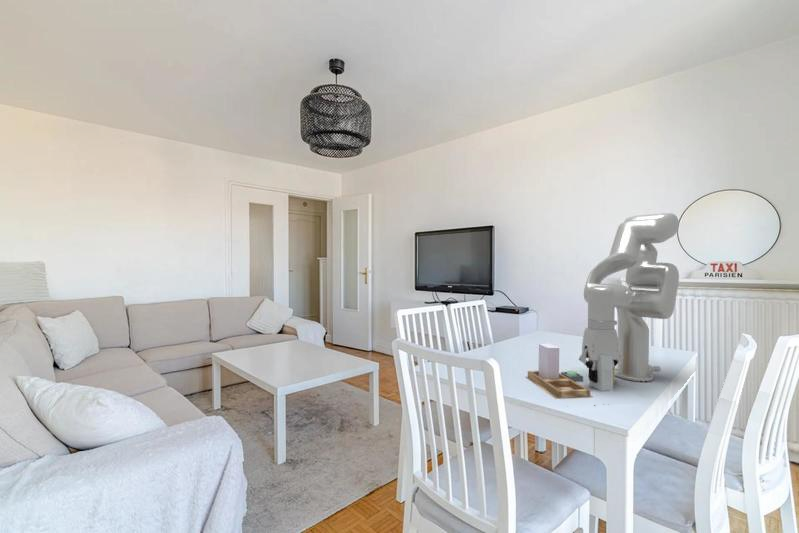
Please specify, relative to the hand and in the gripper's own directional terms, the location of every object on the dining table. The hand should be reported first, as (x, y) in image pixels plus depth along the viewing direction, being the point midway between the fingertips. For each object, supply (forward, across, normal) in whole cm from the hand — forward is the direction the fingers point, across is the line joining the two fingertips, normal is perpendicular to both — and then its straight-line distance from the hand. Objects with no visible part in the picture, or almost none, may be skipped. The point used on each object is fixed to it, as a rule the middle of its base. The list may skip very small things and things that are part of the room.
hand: (600, 380), depth 118 cm
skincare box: (+3, 0, 0) cm, 3 cm away
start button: (+2, +5, -9) cm, 10 cm away
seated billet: (+2, +14, -8) cm, 16 cm away
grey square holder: (+4, +5, -9) cm, 10 cm away
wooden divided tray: (+3, +14, -3) cm, 14 cm away
